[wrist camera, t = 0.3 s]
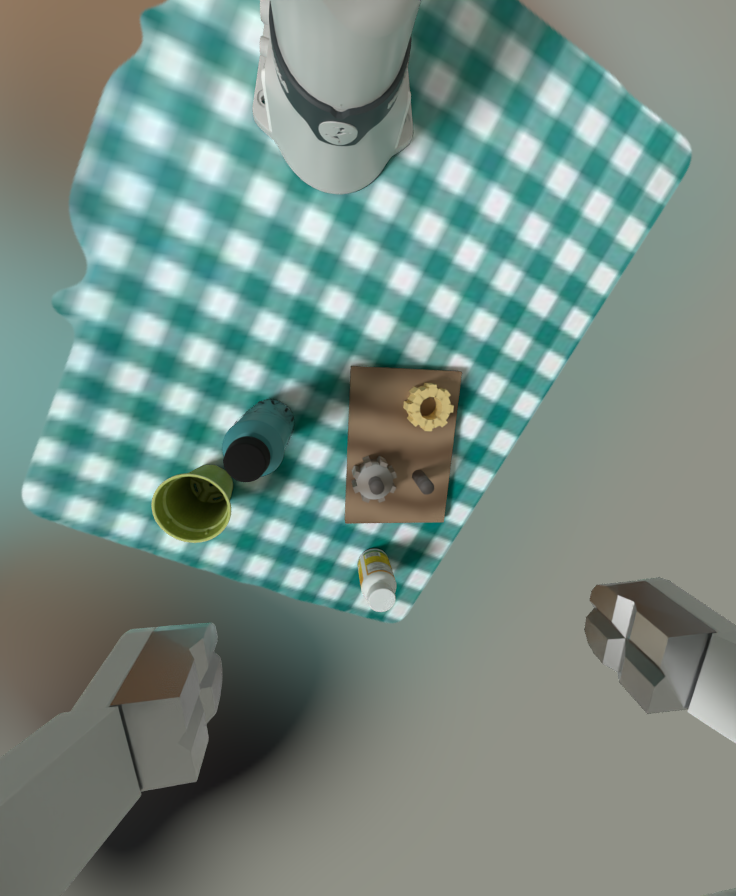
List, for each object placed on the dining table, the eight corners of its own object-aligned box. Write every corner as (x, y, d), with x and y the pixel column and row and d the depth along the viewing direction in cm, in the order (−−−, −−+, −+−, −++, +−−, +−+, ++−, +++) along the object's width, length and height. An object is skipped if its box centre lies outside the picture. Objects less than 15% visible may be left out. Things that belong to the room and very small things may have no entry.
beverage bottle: (304, 414, 52) (296, 455, 33) (277, 449, 53) (254, 509, 34) (266, 386, 50) (235, 412, 31) (239, 423, 51) (192, 470, 32)
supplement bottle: (371, 541, 59) (380, 577, 50) (394, 558, 61) (408, 596, 52) (350, 564, 60) (355, 604, 51) (374, 580, 62) (383, 621, 53)
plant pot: (192, 519, 54) (169, 551, 46) (167, 463, 52) (138, 486, 43) (252, 503, 55) (241, 531, 47) (231, 446, 52) (214, 465, 44)
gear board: (350, 365, 51) (354, 369, 45) (458, 371, 53) (476, 374, 47) (344, 518, 58) (347, 540, 51) (440, 517, 60) (454, 537, 54)
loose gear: (405, 381, 51) (410, 384, 48) (448, 383, 52) (456, 385, 49) (401, 426, 53) (406, 430, 50) (443, 427, 54) (450, 431, 51)
